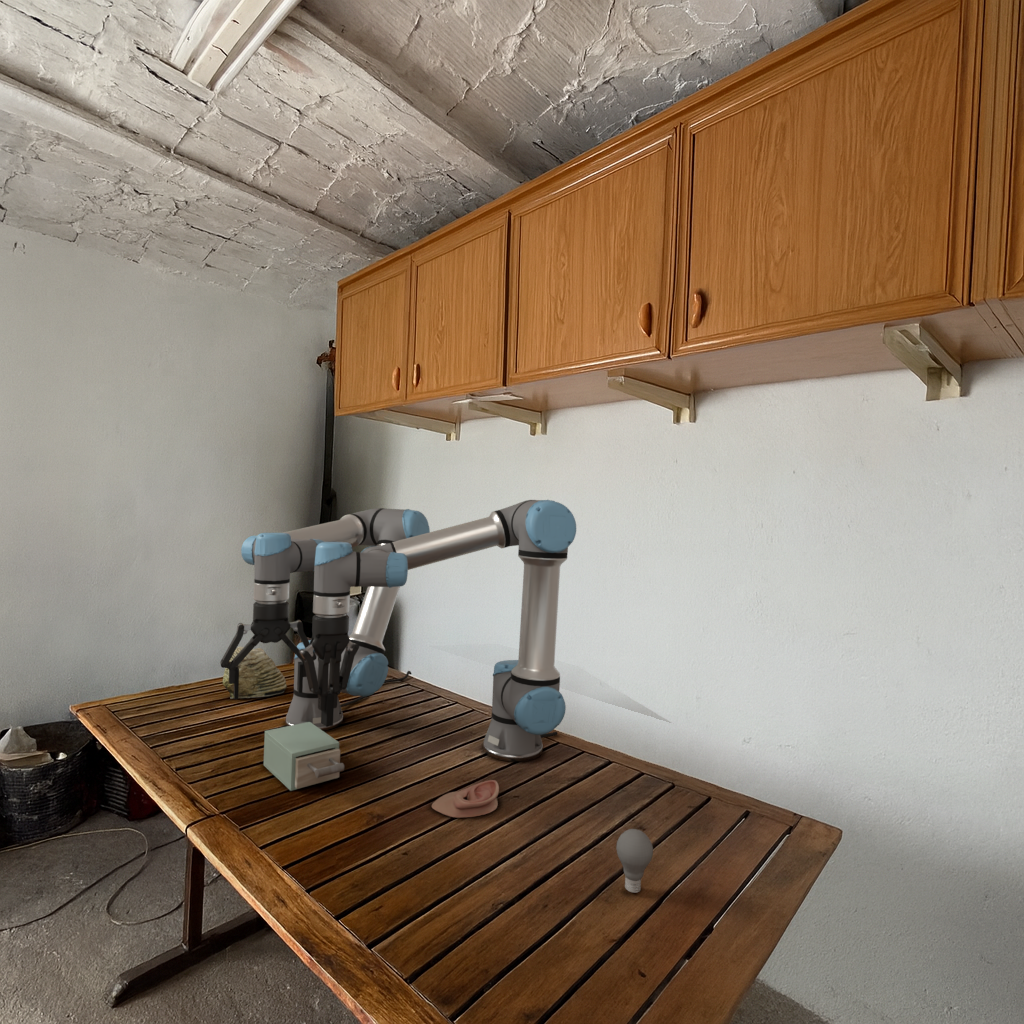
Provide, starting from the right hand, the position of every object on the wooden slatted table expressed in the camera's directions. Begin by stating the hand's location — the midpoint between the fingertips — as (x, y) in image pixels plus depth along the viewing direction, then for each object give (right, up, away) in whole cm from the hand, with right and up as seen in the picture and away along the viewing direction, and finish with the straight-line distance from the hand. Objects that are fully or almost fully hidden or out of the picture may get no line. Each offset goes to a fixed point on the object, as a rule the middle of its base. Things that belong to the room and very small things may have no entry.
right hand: (326, 724), depth 136 cm
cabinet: (-9, -14, +10) cm, 20 cm away
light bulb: (+60, -18, -30) cm, 69 cm away
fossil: (-41, -12, +62) cm, 76 cm away
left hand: (-16, +4, +8) cm, 18 cm away
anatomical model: (+30, -16, -3) cm, 34 cm away
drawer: (-5, -13, +6) cm, 16 cm away
